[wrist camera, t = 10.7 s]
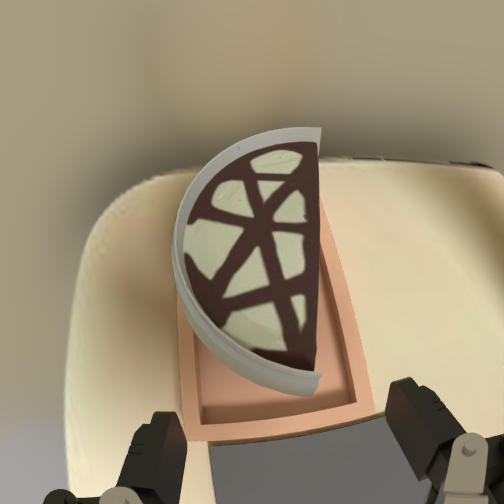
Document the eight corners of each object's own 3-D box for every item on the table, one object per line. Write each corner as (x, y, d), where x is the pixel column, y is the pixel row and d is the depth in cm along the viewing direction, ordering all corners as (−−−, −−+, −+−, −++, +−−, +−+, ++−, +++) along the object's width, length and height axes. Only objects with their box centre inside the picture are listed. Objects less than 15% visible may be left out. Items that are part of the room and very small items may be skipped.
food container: (224, 227, 23) (202, 117, 14) (305, 233, 22) (321, 121, 14) (193, 391, 17) (118, 362, 8) (293, 404, 16) (321, 393, 7)
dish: (314, 204, 25) (316, 188, 23) (365, 414, 16) (375, 413, 14) (184, 220, 25) (178, 205, 23) (193, 439, 16) (185, 441, 14)
